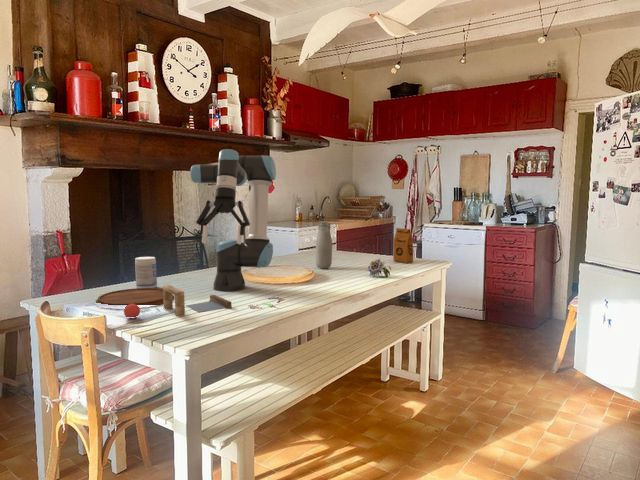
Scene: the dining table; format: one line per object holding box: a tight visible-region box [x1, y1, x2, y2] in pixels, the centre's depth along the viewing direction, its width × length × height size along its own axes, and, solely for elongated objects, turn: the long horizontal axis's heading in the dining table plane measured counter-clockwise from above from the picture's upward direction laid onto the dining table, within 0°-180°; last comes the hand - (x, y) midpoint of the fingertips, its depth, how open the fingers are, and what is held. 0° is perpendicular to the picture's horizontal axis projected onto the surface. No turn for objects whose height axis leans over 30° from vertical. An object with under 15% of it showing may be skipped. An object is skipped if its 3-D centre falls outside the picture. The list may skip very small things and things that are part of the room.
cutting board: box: [94, 287, 175, 306], centre depth 210 cm, size 32×32×2 cm
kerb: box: [209, 294, 233, 310], centre depth 203 cm, size 2×16×2 cm, turn 38°
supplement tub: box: [134, 256, 158, 288], centre depth 234 cm, size 10×10×15 cm
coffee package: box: [393, 227, 415, 264], centre depth 313 cm, size 10×12×22 cm
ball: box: [123, 304, 141, 318], centre depth 181 cm, size 6×6×6 cm
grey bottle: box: [315, 221, 333, 270], centre depth 288 cm, size 10×10×28 cm
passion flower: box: [365, 258, 392, 279], centre depth 266 cm, size 11×11×12 cm
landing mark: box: [185, 300, 226, 313], centre depth 200 cm, size 13×13×1 cm
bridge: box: [162, 284, 186, 317], centre depth 191 cm, size 3×15×9 cm, turn 38°
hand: (221, 243), depth 182 cm, fingers open, 13 cm apart
